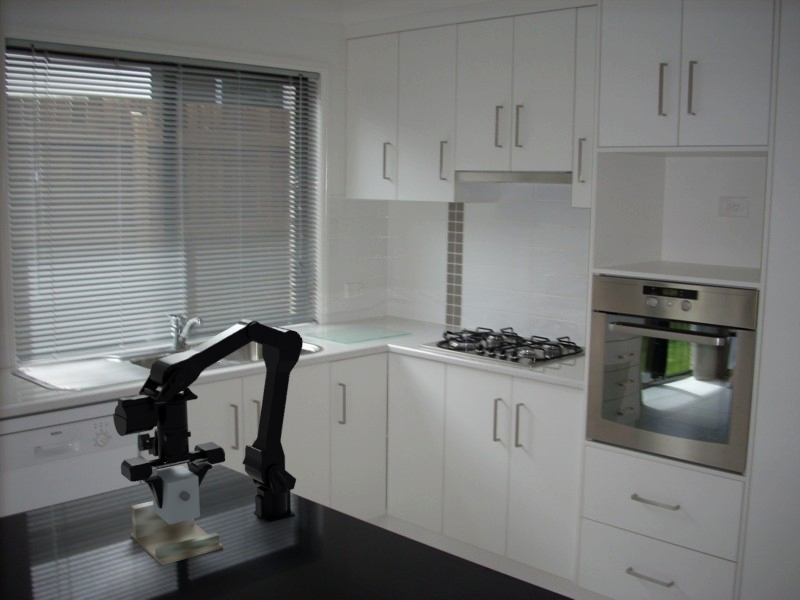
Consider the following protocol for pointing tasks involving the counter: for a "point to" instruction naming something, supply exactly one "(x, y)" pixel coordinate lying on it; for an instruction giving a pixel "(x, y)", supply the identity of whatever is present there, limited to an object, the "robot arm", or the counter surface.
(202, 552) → the cleat board
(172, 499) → the cabinet block
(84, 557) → the counter surface
